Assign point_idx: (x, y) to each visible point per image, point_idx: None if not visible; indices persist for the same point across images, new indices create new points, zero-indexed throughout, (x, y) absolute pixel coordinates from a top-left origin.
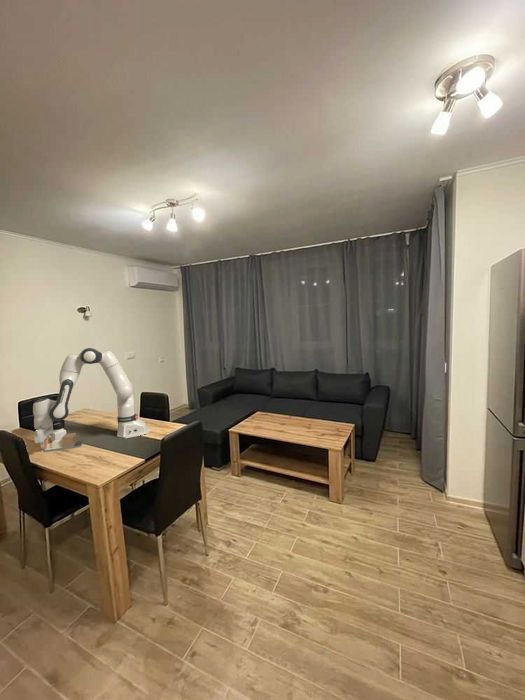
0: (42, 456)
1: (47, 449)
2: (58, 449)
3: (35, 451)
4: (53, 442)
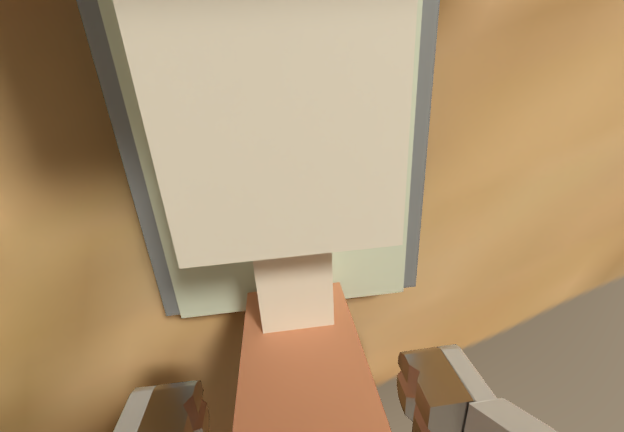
0: (590, 217)
1: (406, 246)
2: (427, 19)
3: None
4: (396, 196)
